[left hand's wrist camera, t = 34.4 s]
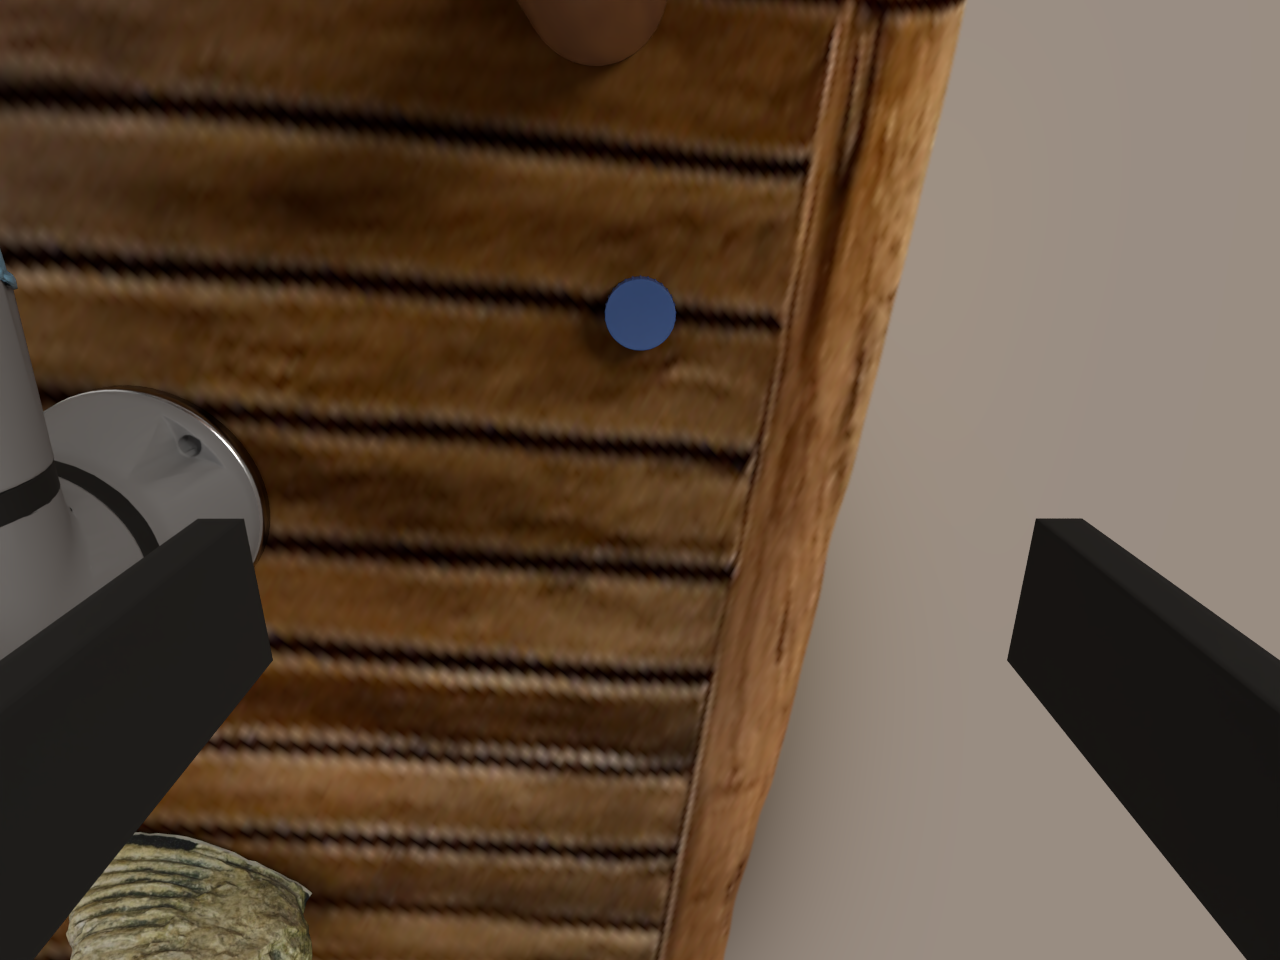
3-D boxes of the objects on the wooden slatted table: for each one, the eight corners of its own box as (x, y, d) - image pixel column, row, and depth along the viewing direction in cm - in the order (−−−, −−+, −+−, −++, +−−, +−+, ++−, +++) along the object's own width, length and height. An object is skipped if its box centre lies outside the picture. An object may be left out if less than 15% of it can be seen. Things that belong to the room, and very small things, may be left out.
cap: (651, 359, 46) (652, 364, 44) (592, 323, 45) (590, 327, 43) (688, 299, 44) (690, 303, 43) (628, 261, 44) (627, 263, 42)
